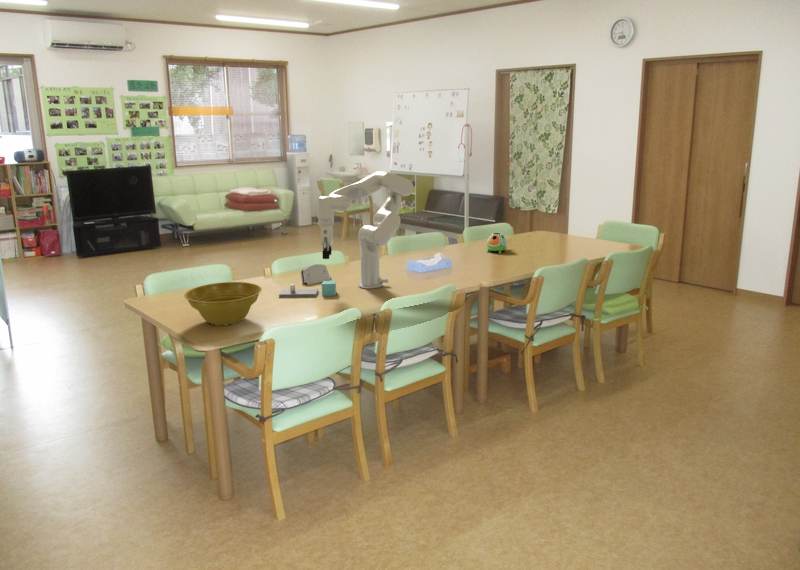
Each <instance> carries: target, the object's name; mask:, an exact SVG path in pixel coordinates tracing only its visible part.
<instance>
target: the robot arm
mask: <svg viewBox="0 0 800 570" xmlns="http://www.w3.org/2000/svg"><path fill="white" fill-rule="evenodd" d="M382 189H384V190H386V195H387V196H386V200H385V201H384V203H383V204H382V205H381V206H380V208H379V209H378V210H377V211H376V213H374V215H373V218H372V223H373V225H371V224H366V225H363V226H361V227H360V229H359V230H358V234H357V236H358V243H359V248H360V250H359V251H360V278H361V279H360V282H359V283H358V285H357V286H358V287H359V288H361V289H371V290H372V289H379V288H381V287H383V285H384V284H383V283H385V284H387V283H389V278H382V277H381V274H380V249H379V247H384V246H385V245H386V244H387V243H388V242H389V241H390V239H391V238H392V237H393V236H394V235H395V233H396V232H397V231H398V229H399V227H400V224H401V217H400V215H399V213H398V212H399V211H400V209H401V208H402V197H408V196H410V195H411V194H413V191H414V184H413V182H412V181H411V180H410V179H407V178H406V177H403V176H400V175H398V174H395V173H393V172H389V171H383V170H382V171H380V170H379V171H375V172H374V173H372V174H370V175H368V176H366V177H364V178H362V179H361V180H359V181H357V182H354V183H352V184H349V185H346V186H342V187H341V188H339V189H336V190H334V191H333V192H331V193H330V194H328V195H322V196H319V197H318V198H317V217H318V218H317V219H318V226H320V242H321V246H322V260H330V256H332V245H333V244H334V233H333V231H334V230H333V226H335V213H334V211H335V212H336V211H337V212H345V211H347V210H348V209H349V208H350V207H351V201H352V200H361V199H365V198H367V197H369V196H371V195H372V194H374V193H376V192H378V191H379V190H382Z"/></svg>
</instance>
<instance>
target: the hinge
mask: <svg viewBox="0 0 800 570" xmlns="http://www.w3.org/2000/svg"><path fill="white" fill-rule="evenodd" d="M300 277H301V284H302V283H303V284H307V286H309V285H313V284H317V283H318V282H319V283H322V281H326V280H327V281H331V280H332V276H331V275H330V273H329V270H328V268H327V265H325V264H321V263H320V264H319V263H317V264H311V265H308V266H305V267H304V268H302V269H301V270H300ZM330 279H331V280H330ZM319 283H318V284H319Z"/></svg>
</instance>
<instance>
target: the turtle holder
mask: <svg viewBox="0 0 800 570" xmlns="http://www.w3.org/2000/svg"><path fill="white" fill-rule="evenodd" d="M506 239H507V238H506V236H504V234H502V232H492V233H491V235H489V237H488V238H487V241H486V249H487V251H486V252H487V253H490V252H491V251H494V252H497V251H498V254H501V253H502V251H503V252H507V240H506Z"/></svg>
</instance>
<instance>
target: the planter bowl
mask: <svg viewBox="0 0 800 570" xmlns="http://www.w3.org/2000/svg"><path fill="white" fill-rule="evenodd" d="M262 291H263V290H262V287H261V286H260V285H258V284H256V283H251V282H243V281H237V282H236V281H226V282H224V281H223V282H217V283H215V282H214V283H209V284H204V285H201V286H196V287H194V288H191V289H189V290H187V291H186V292H185V293H184V294H183V297H184V298H185V299H186V300H187V302H188V303H189V305H190V307H192V308H193V309H195V310H197V311H198V313H199V314H200V316H201V317H202V318H203V320H205V322H206V323H208V324H210V323H211V325H213V324H216V325H215V326H226V325H225V324H231V325H234V324H233V323H235V324H238V323H240V322H242V321H243V320H244V319H246V317H247V316H248V314H249V312H250V309H251V308H252V305H253V304H255V303H256V301H257V300H258V298H259V295H260V293H261V292H262ZM239 321H240V322H239ZM237 322H238V323H237Z"/></svg>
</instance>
